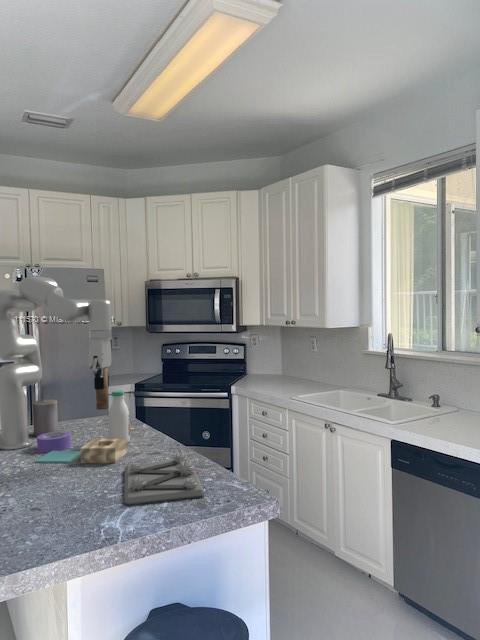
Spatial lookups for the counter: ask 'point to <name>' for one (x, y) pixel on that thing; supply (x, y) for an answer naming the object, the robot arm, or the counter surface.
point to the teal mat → (59, 457)
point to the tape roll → (53, 441)
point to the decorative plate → (162, 481)
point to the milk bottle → (119, 418)
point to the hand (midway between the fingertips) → (101, 387)
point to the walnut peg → (102, 393)
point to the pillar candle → (45, 417)
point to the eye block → (103, 451)
